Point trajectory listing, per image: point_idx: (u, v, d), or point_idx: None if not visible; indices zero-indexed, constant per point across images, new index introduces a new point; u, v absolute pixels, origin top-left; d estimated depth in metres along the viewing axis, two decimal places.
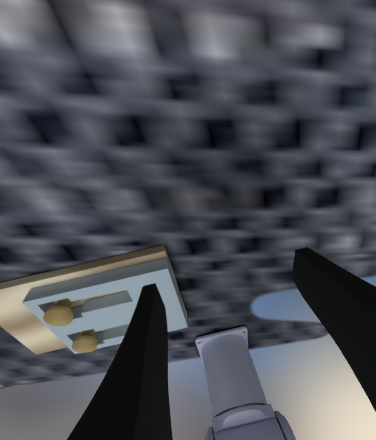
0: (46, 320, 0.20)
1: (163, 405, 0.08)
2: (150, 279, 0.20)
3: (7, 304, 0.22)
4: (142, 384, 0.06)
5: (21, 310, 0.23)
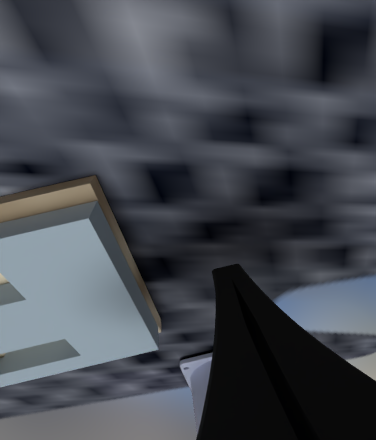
0: None
1: None
2: (51, 247, 0.09)
3: None
4: (258, 356, 0.06)
5: None
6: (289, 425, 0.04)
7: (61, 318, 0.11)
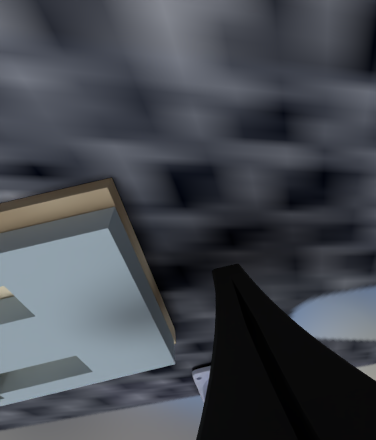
0: None
1: None
2: (64, 259, 0.08)
3: None
4: (259, 356, 0.06)
5: None
6: (289, 425, 0.04)
7: (73, 334, 0.10)
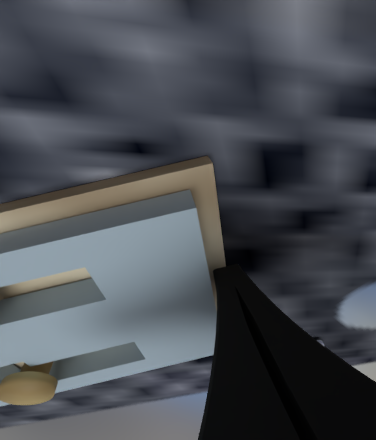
0: None
1: None
2: (147, 240, 0.08)
3: None
4: (260, 356, 0.06)
5: None
6: (291, 425, 0.04)
7: (136, 319, 0.10)
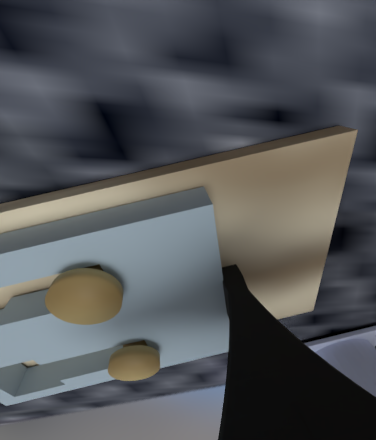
0: (53, 308, 0.08)
1: None
2: (163, 237, 0.08)
3: None
4: (275, 353, 0.06)
5: None
6: (313, 419, 0.04)
7: (148, 317, 0.10)
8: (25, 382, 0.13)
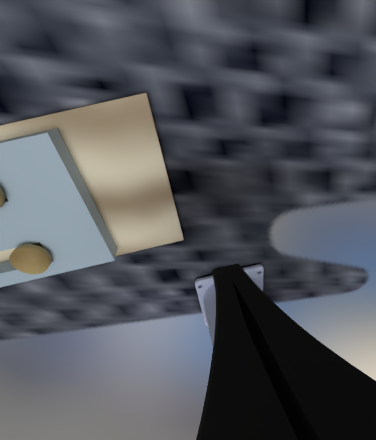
0: None
1: None
2: (23, 155, 0.13)
3: None
4: (259, 356, 0.06)
5: None
6: (289, 425, 0.04)
7: (35, 221, 0.15)
8: None
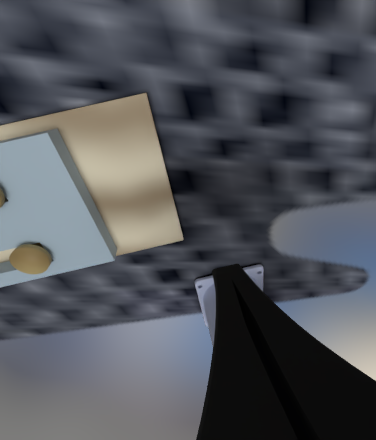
0: None
1: None
2: (23, 155, 0.13)
3: None
4: (258, 356, 0.06)
5: None
6: (289, 425, 0.04)
7: (35, 221, 0.15)
8: None
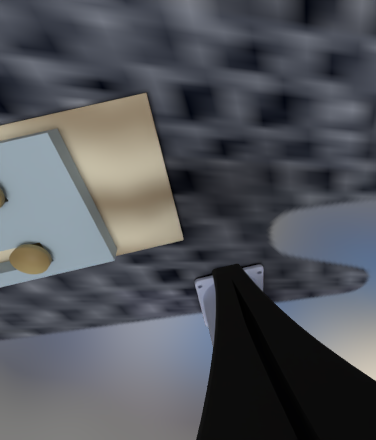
0: None
1: None
2: (23, 155, 0.13)
3: None
4: (258, 356, 0.06)
5: None
6: (289, 425, 0.04)
7: (35, 221, 0.15)
8: None
